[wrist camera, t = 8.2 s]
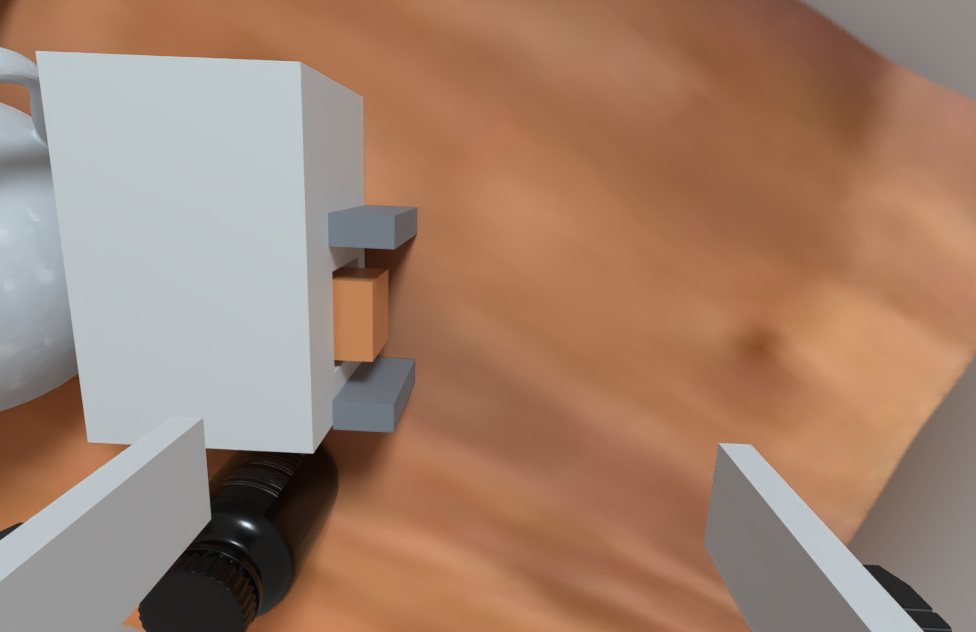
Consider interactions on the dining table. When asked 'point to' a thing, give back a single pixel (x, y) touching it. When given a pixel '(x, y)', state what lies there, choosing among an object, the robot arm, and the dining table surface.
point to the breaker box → (215, 247)
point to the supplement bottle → (246, 543)
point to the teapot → (30, 252)
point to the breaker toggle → (359, 313)
